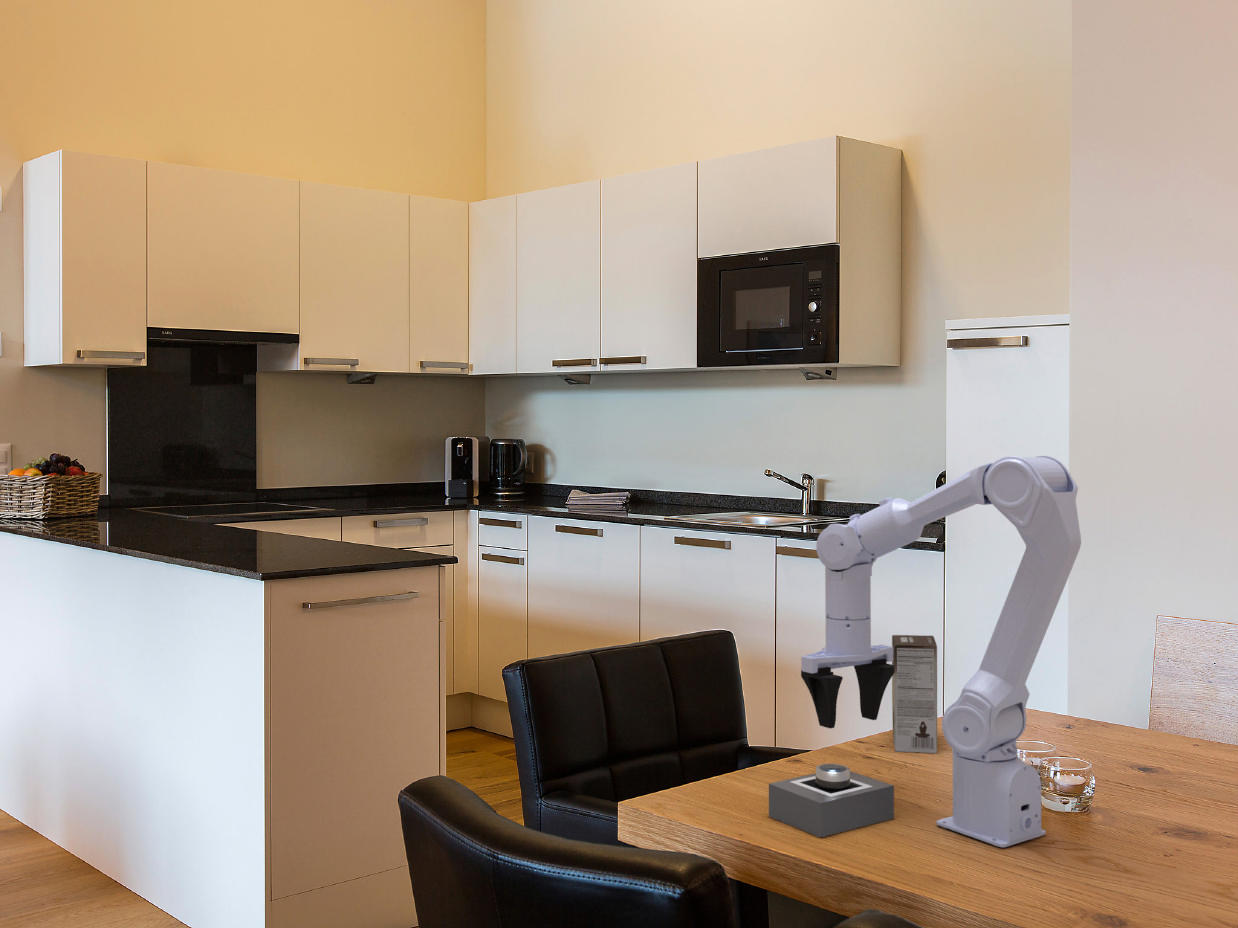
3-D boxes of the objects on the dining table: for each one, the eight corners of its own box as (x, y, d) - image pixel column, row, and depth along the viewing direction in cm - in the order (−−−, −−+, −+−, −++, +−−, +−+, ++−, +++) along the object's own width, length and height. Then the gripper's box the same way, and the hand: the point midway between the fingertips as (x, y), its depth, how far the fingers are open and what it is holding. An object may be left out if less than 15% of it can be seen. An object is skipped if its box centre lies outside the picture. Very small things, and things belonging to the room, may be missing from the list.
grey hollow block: (894, 818, 130) (893, 784, 130) (821, 837, 124) (820, 802, 124) (840, 798, 138) (840, 767, 138) (768, 816, 131) (768, 782, 131)
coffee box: (891, 736, 169) (890, 633, 169) (933, 738, 167) (933, 634, 167) (894, 752, 160) (893, 643, 160) (939, 754, 158) (938, 644, 158)
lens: (857, 820, 130) (857, 769, 130) (829, 825, 128) (829, 774, 128) (835, 809, 133) (835, 761, 133) (808, 815, 132) (808, 765, 131)
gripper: (865, 609, 146) (865, 708, 147) (784, 618, 139) (785, 723, 139) (905, 615, 141) (905, 719, 141) (823, 625, 133) (823, 735, 133)
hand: (848, 722), depth 139 cm, fingers open, 7 cm apart
